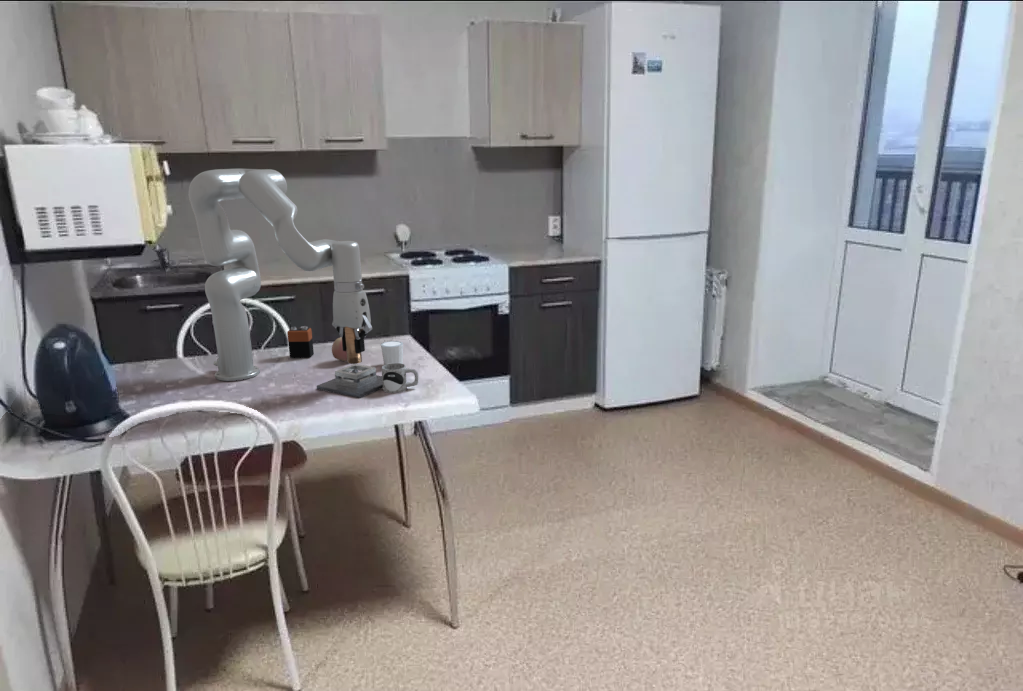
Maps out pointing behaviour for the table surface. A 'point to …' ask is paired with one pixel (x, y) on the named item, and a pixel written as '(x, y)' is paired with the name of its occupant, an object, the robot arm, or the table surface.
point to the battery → (300, 342)
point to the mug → (397, 377)
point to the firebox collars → (354, 381)
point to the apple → (339, 350)
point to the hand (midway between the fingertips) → (353, 350)
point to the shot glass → (392, 352)
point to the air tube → (351, 346)
